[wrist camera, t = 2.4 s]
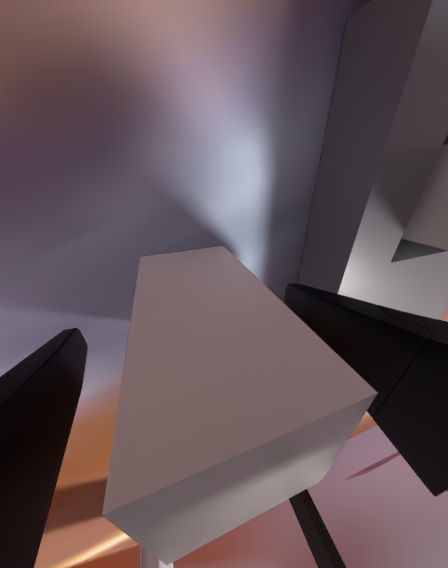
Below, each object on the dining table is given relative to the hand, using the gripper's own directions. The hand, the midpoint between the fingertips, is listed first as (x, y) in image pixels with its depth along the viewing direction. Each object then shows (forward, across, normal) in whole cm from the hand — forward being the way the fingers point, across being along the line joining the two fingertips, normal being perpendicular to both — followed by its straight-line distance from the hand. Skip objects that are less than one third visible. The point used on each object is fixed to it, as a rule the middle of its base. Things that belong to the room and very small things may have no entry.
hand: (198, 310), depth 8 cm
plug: (+2, 0, 0) cm, 2 cm away
